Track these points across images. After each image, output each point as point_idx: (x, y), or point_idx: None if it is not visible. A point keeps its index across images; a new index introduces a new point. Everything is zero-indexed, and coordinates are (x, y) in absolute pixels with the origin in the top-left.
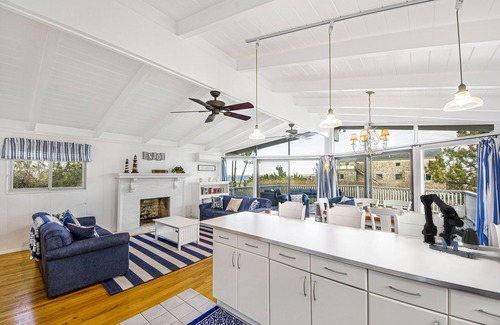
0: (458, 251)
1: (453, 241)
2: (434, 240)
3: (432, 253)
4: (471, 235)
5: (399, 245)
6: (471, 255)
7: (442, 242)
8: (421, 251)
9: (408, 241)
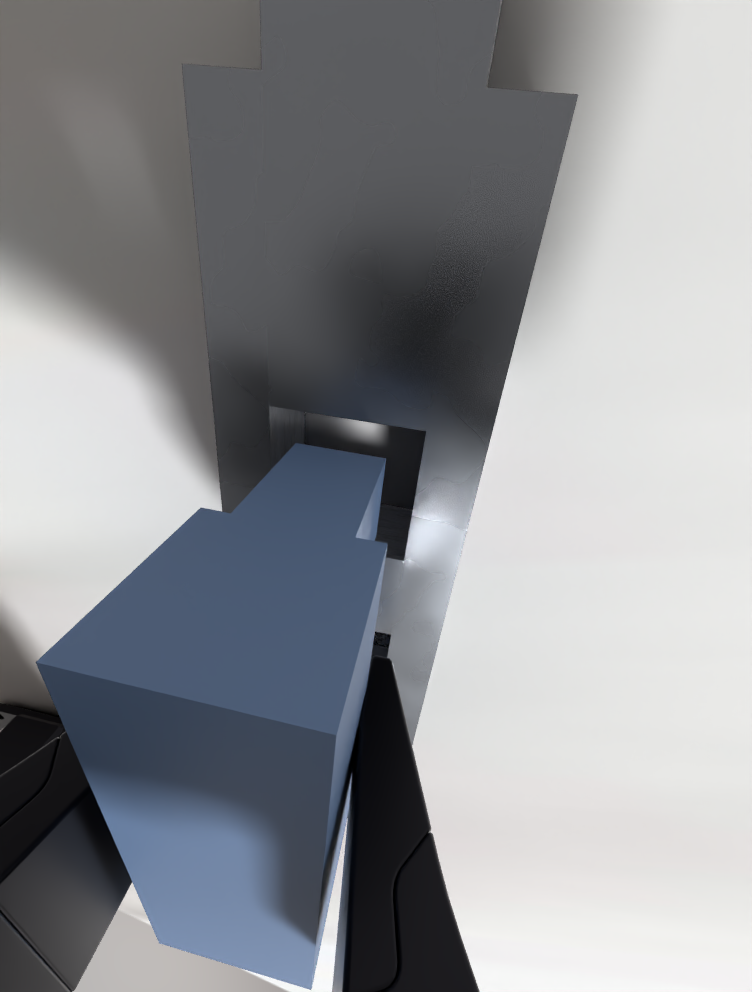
0: (406, 419)
1: (270, 809)
2: (12, 765)
3: (699, 737)
4: None
5: (547, 945)
6: None
7: (341, 842)
8: (680, 829)
9: None
